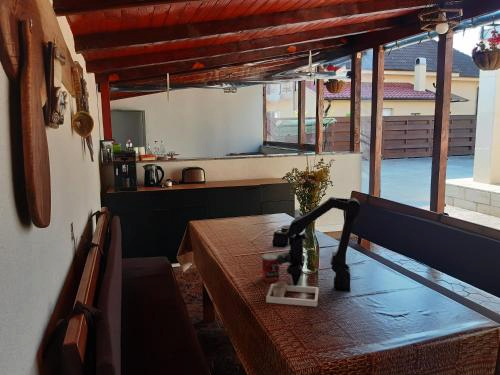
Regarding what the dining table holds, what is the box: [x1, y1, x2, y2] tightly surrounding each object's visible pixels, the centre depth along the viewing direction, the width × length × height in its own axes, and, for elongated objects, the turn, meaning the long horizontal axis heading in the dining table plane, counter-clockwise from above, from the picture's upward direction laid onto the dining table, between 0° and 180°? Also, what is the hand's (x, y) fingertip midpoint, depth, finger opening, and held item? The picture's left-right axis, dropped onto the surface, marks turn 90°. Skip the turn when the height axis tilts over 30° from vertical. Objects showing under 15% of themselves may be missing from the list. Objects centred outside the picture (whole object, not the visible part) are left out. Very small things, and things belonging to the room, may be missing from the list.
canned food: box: [262, 253, 280, 283], centre depth 188 cm, size 8×8×11 cm
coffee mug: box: [275, 224, 295, 246], centre depth 245 cm, size 12×9×10 cm
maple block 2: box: [273, 289, 285, 298], centre depth 167 cm, size 4×4×4 cm
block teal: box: [290, 273, 303, 286], centre depth 182 cm, size 4×4×4 cm
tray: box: [265, 283, 319, 307], centre depth 169 cm, size 20×14×2 cm
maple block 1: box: [275, 281, 287, 296], centre depth 173 cm, size 4×4×4 cm
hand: (296, 282), depth 182 cm, fingers open, 7 cm apart
